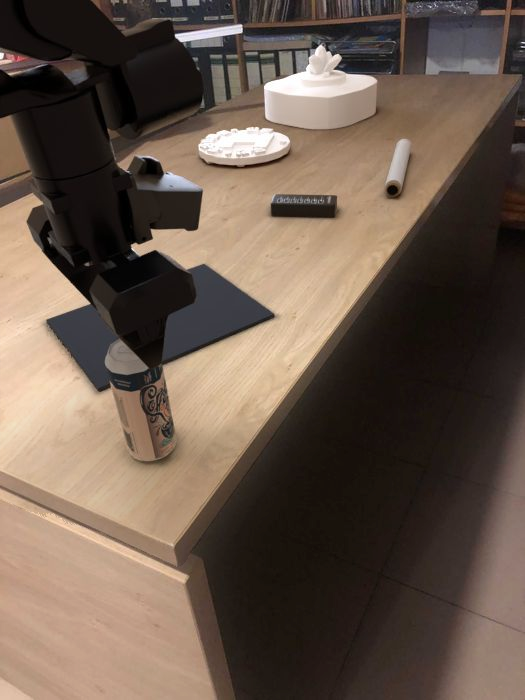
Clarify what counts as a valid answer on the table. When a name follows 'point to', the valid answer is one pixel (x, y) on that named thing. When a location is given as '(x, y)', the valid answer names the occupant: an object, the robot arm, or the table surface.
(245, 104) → the table surface
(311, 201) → the multiport hub
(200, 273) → the desk mat
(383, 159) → the table surface
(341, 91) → the white crystal-topped box
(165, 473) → the table surface
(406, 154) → the tube
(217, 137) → the embossed medallion
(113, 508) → the table surface
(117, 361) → the beer can
